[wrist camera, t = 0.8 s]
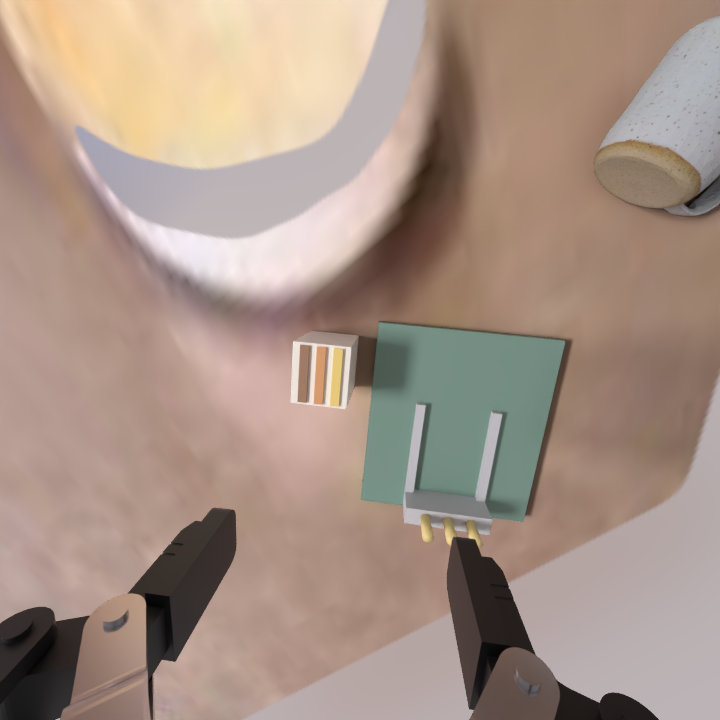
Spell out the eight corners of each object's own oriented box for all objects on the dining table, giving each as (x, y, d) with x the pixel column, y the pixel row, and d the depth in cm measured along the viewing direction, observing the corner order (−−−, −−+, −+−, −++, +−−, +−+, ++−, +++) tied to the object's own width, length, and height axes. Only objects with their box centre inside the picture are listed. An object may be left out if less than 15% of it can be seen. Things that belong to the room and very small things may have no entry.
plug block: (311, 330, 31) (292, 341, 25) (358, 335, 31) (351, 347, 25) (308, 381, 32) (289, 403, 26) (354, 386, 32) (345, 410, 26)
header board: (379, 321, 30) (376, 330, 24) (559, 339, 29) (605, 353, 23) (361, 493, 34) (355, 539, 28) (519, 515, 33) (549, 567, 27)
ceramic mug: (566, 172, 26) (637, 129, 19) (641, 67, 25) (753, -27, 17) (670, 245, 27) (778, 232, 20) (752, 149, 25) (905, 94, 18)
